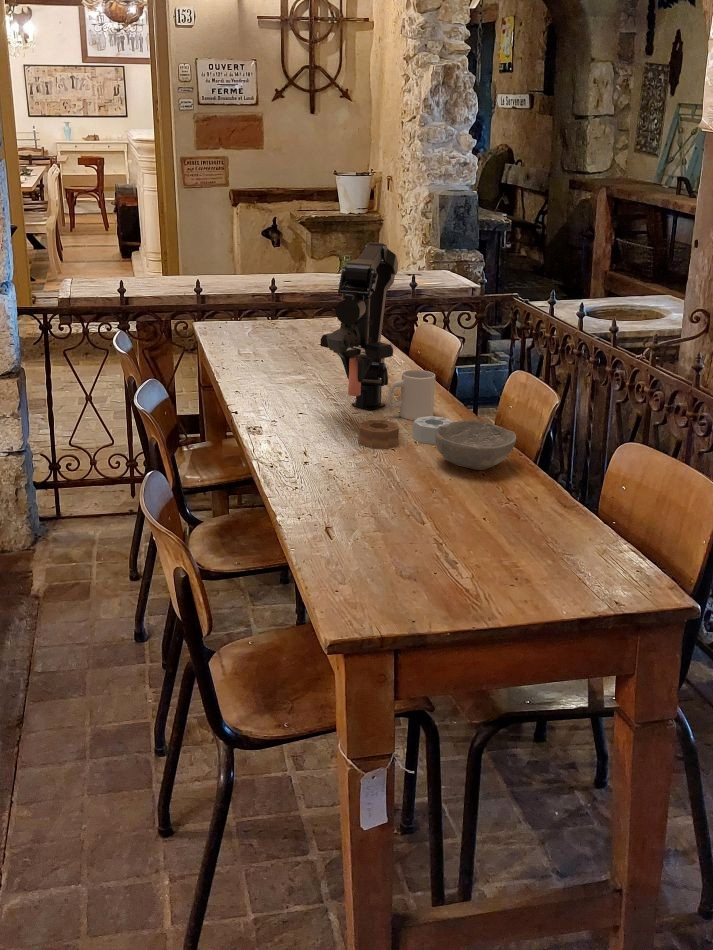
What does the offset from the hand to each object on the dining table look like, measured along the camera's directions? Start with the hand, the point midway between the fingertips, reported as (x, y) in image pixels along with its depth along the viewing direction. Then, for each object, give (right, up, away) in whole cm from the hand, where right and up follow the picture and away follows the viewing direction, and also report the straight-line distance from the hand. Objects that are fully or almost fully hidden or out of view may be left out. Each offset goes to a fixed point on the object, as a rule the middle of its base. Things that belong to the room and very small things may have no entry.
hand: (354, 380), depth 249 cm
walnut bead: (+5, -15, -8) cm, 18 cm away
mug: (+14, -8, +13) cm, 20 cm away
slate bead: (+19, -14, -4) cm, 24 cm away
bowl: (+26, -21, -21) cm, 40 cm away
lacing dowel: (0, -3, +1) cm, 4 cm away
